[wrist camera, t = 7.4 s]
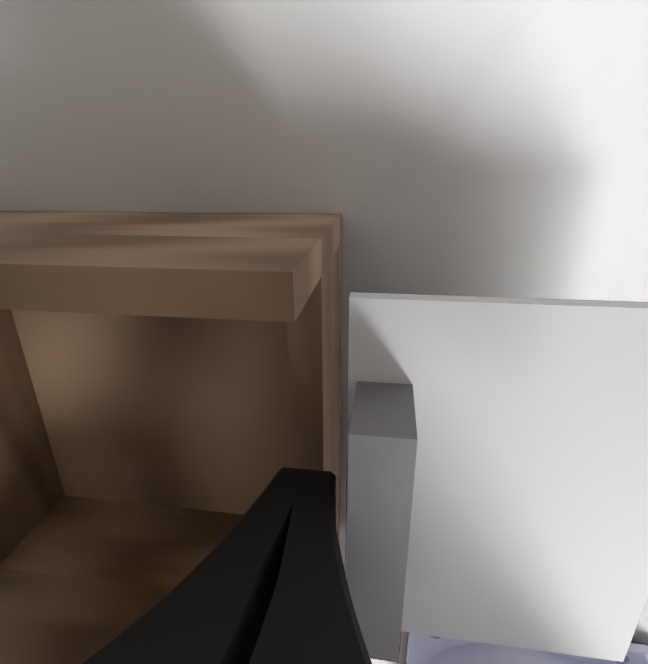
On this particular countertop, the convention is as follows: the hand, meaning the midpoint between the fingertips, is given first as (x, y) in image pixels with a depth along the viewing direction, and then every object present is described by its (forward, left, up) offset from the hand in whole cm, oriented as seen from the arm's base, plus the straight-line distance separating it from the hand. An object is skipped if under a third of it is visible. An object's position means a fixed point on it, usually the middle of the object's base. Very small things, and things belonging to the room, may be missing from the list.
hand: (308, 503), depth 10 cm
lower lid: (-5, 0, -1) cm, 5 cm away
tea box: (+6, 0, -5) cm, 8 cm away
